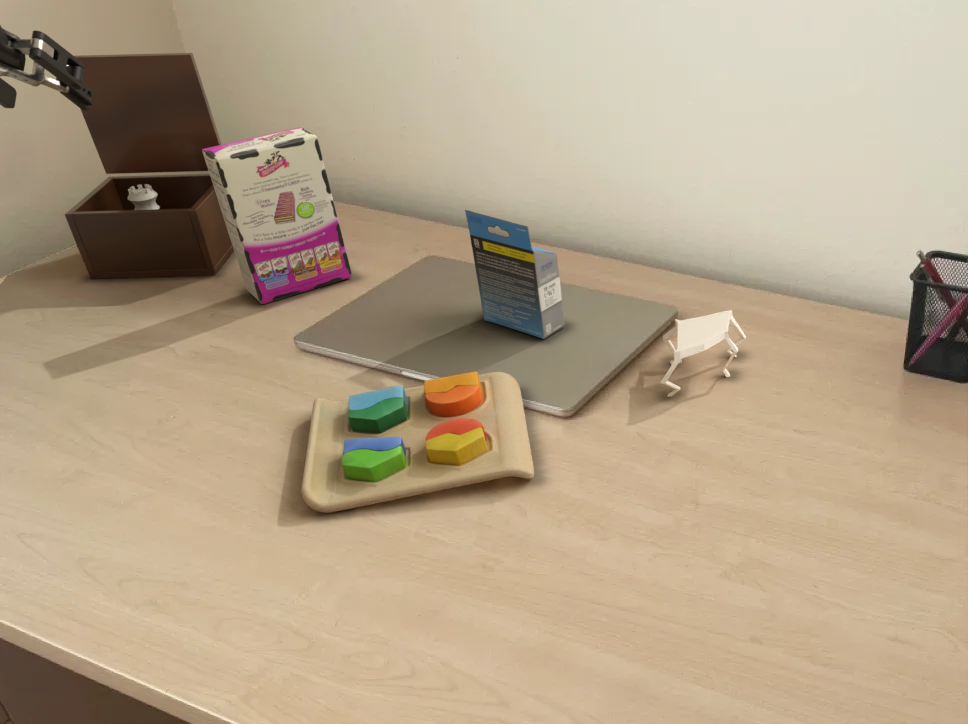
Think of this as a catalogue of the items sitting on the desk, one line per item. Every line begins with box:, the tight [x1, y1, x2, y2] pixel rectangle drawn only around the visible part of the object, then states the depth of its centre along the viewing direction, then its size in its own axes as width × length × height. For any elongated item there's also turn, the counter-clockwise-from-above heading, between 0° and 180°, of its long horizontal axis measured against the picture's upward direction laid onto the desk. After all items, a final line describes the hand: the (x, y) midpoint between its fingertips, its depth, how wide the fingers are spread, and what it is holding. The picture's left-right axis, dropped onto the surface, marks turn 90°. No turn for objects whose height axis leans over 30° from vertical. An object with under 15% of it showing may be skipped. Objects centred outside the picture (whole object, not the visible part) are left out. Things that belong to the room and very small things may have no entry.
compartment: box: [64, 173, 235, 280], centre depth 127 cm, size 13×15×8 cm
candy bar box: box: [202, 126, 353, 305], centre depth 118 cm, size 11×5×16 cm, turn 130°
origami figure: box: [660, 309, 747, 398], centre depth 103 cm, size 12×8×5 cm
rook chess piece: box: [128, 184, 160, 210], centre depth 126 cm, size 4×4×8 cm
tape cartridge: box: [464, 209, 565, 340], centre depth 110 cm, size 9×4×12 cm, turn 57°
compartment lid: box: [74, 52, 223, 175], centre depth 127 cm, size 14×15×5 cm
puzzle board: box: [300, 371, 535, 513], centre depth 94 cm, size 18×19×4 cm
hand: (50, 101), depth 109 cm, fingers open, 8 cm apart
